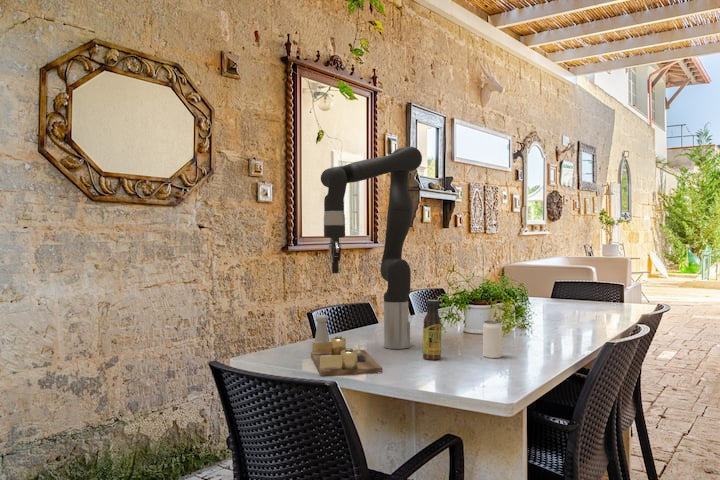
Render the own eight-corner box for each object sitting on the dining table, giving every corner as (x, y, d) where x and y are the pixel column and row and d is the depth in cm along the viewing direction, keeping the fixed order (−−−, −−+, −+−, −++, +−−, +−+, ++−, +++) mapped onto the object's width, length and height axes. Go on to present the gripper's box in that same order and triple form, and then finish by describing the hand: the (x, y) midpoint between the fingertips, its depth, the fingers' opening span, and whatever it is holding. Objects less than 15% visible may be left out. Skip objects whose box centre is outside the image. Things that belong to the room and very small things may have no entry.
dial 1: (345, 351, 205) (345, 335, 205) (346, 354, 200) (346, 338, 200) (312, 352, 204) (312, 336, 204) (312, 355, 199) (312, 339, 199)
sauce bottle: (429, 361, 196) (428, 301, 196) (419, 357, 202) (418, 299, 201) (445, 359, 199) (445, 300, 199) (435, 355, 205) (434, 298, 204)
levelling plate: (364, 353, 209) (364, 340, 209) (382, 372, 181) (382, 357, 181) (311, 356, 206) (310, 343, 206) (320, 376, 177) (320, 360, 177)
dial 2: (355, 365, 184) (354, 347, 184) (359, 368, 179) (359, 350, 179) (318, 367, 181) (318, 349, 181) (322, 371, 176) (321, 352, 176)
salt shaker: (327, 352, 212) (327, 316, 212) (312, 352, 213) (311, 316, 213) (331, 349, 218) (331, 314, 218) (316, 349, 219) (316, 314, 219)
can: (503, 355, 204) (503, 320, 204) (501, 359, 198) (501, 323, 198) (484, 354, 206) (484, 320, 206) (482, 357, 200) (481, 322, 200)
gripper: (348, 223, 202) (348, 274, 202) (342, 224, 215) (342, 271, 215) (326, 224, 201) (327, 274, 201) (321, 224, 214) (322, 272, 214)
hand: (335, 273), depth 208 cm, fingers closed
